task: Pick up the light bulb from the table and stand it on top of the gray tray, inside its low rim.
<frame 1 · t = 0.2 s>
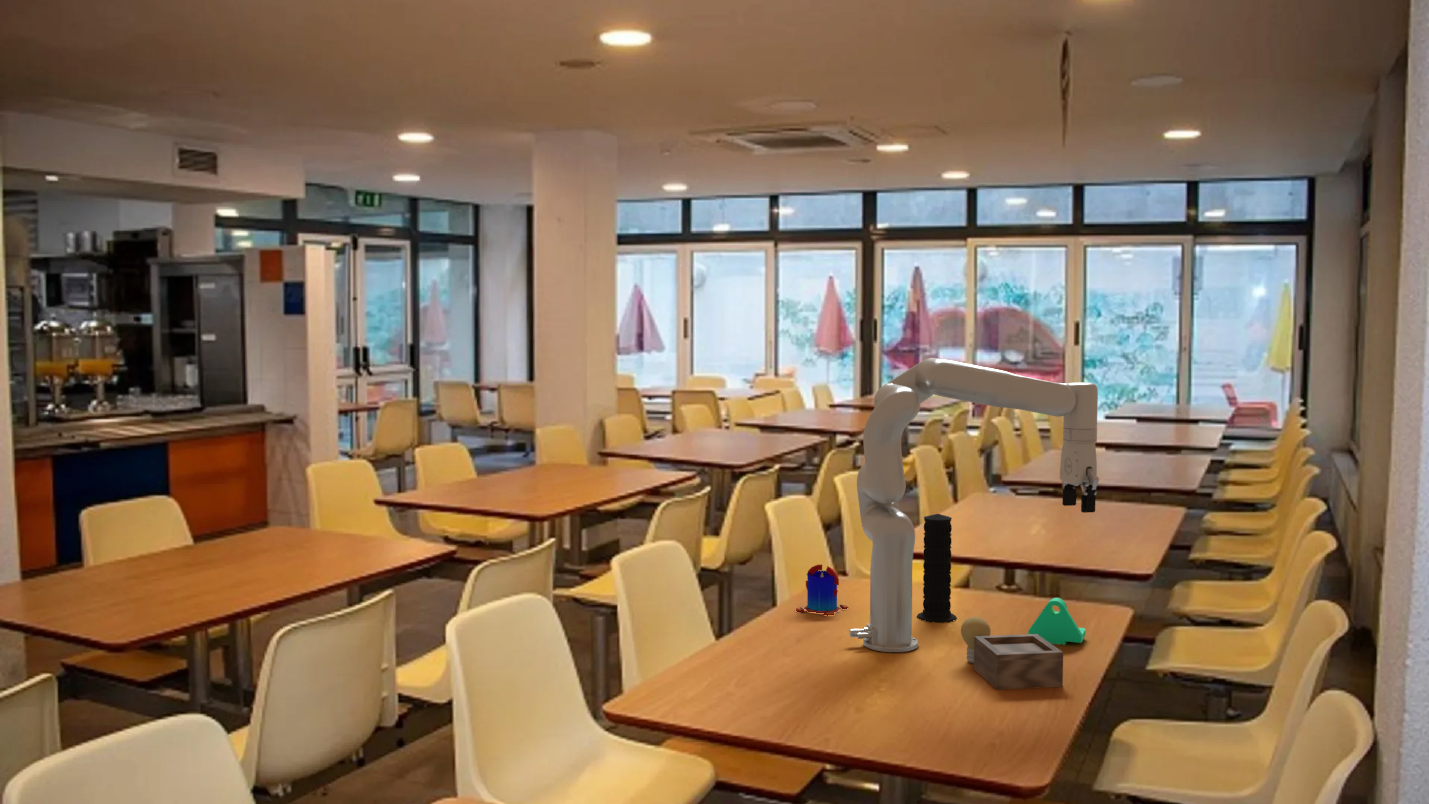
hand: (1078, 508, 278), 31 cm above the table, tool pointing down, fingers open, 9 cm apart
camera mount: (1057, 641, 280), on the table
handle grip: (936, 618, 300), on the table
light bulb: (975, 663, 262), on the table
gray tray: (1017, 677, 251), on the table
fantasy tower: (822, 611, 309), on the table
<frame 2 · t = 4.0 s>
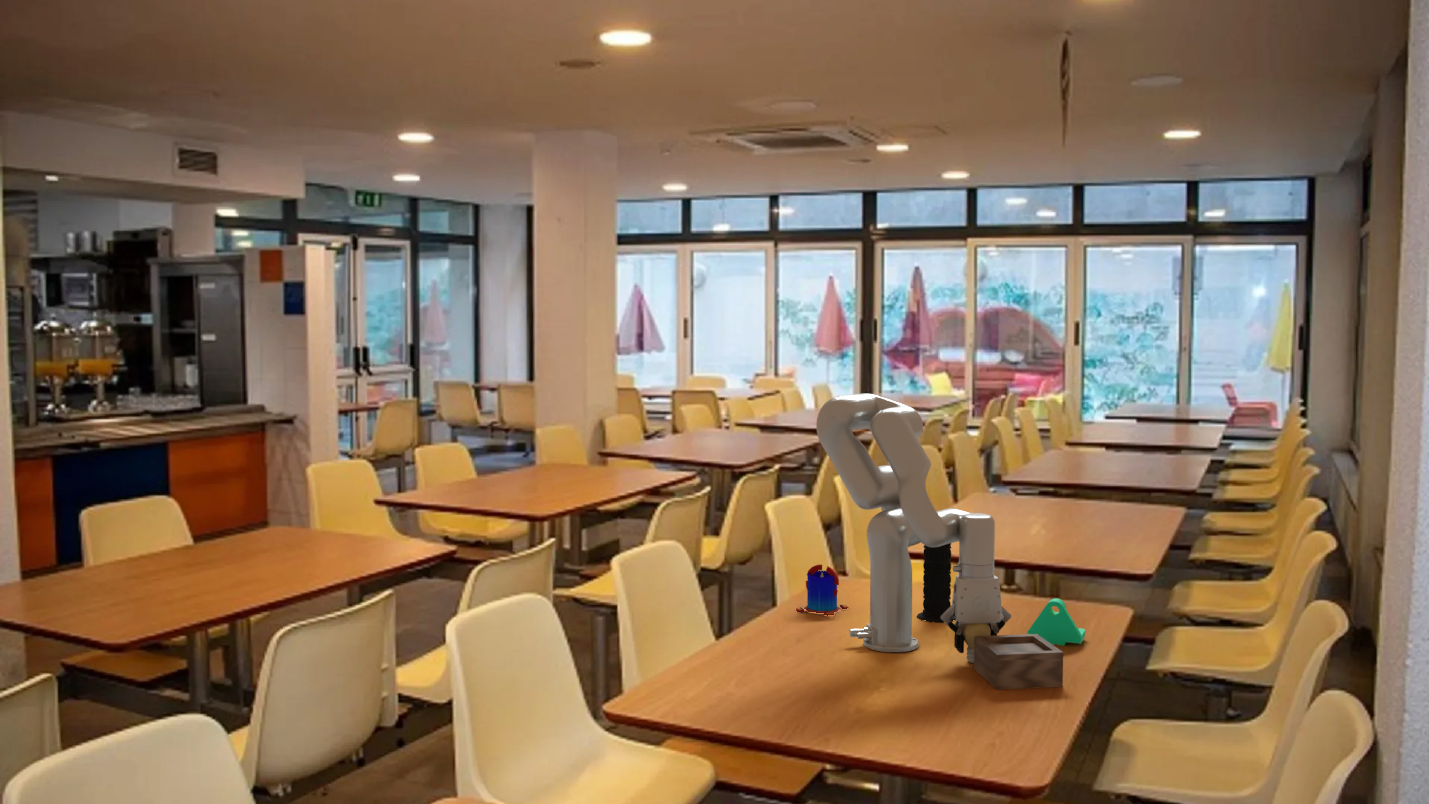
hand: (975, 650, 262), 3 cm above the table, tool pointing down, fingers closed on light bulb, 6 cm apart
light bulb: (975, 662, 262), on the table, touching gripper
when the fingers open (10 cm above the table, at t = 9.5 s): light bulb drops 1 cm, resting on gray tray.
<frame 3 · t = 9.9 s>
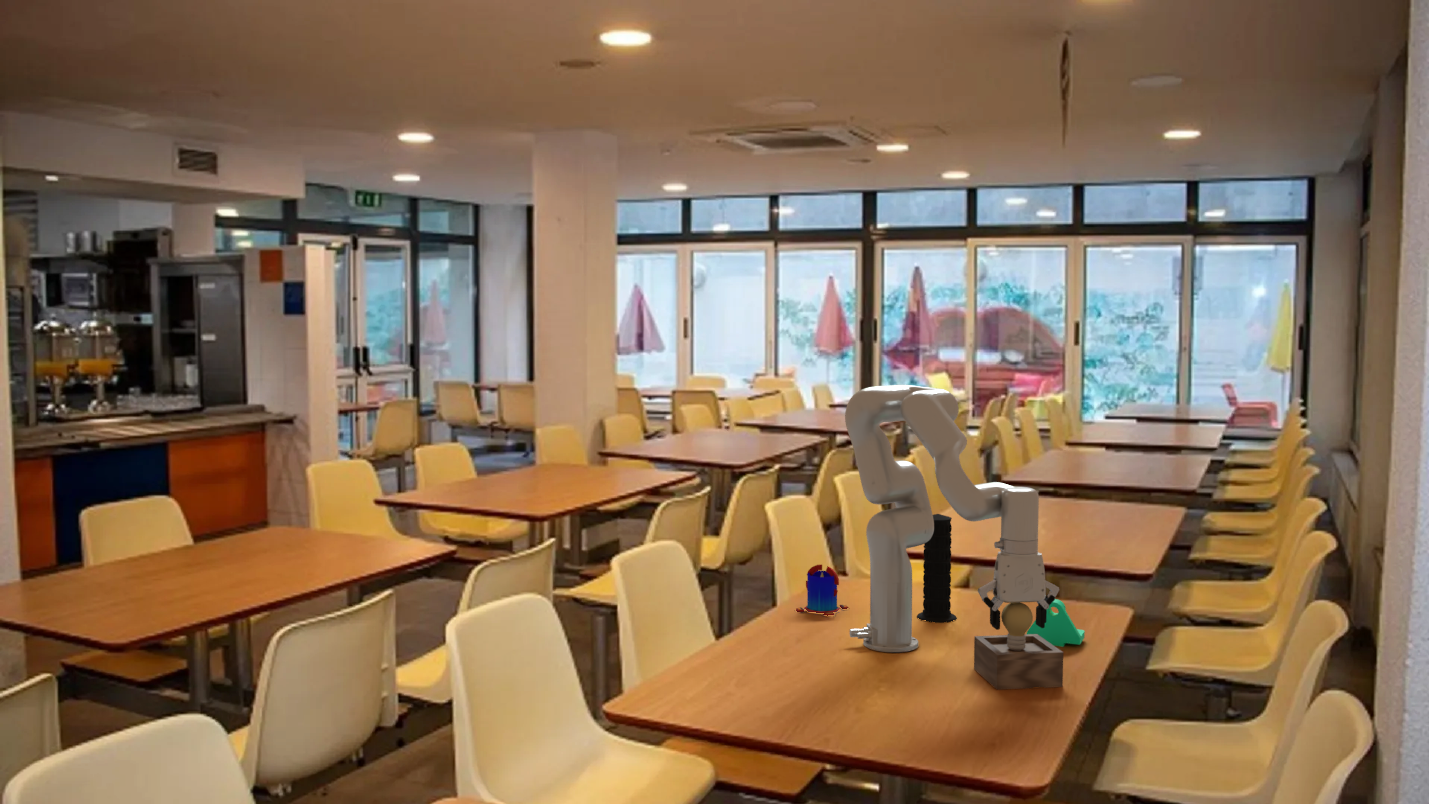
hand: (1018, 627, 250), 11 cm above the table, tool pointing down, fingers open, 9 cm apart
light bulb: (1016, 650, 251), point 6 cm above the table, touching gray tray
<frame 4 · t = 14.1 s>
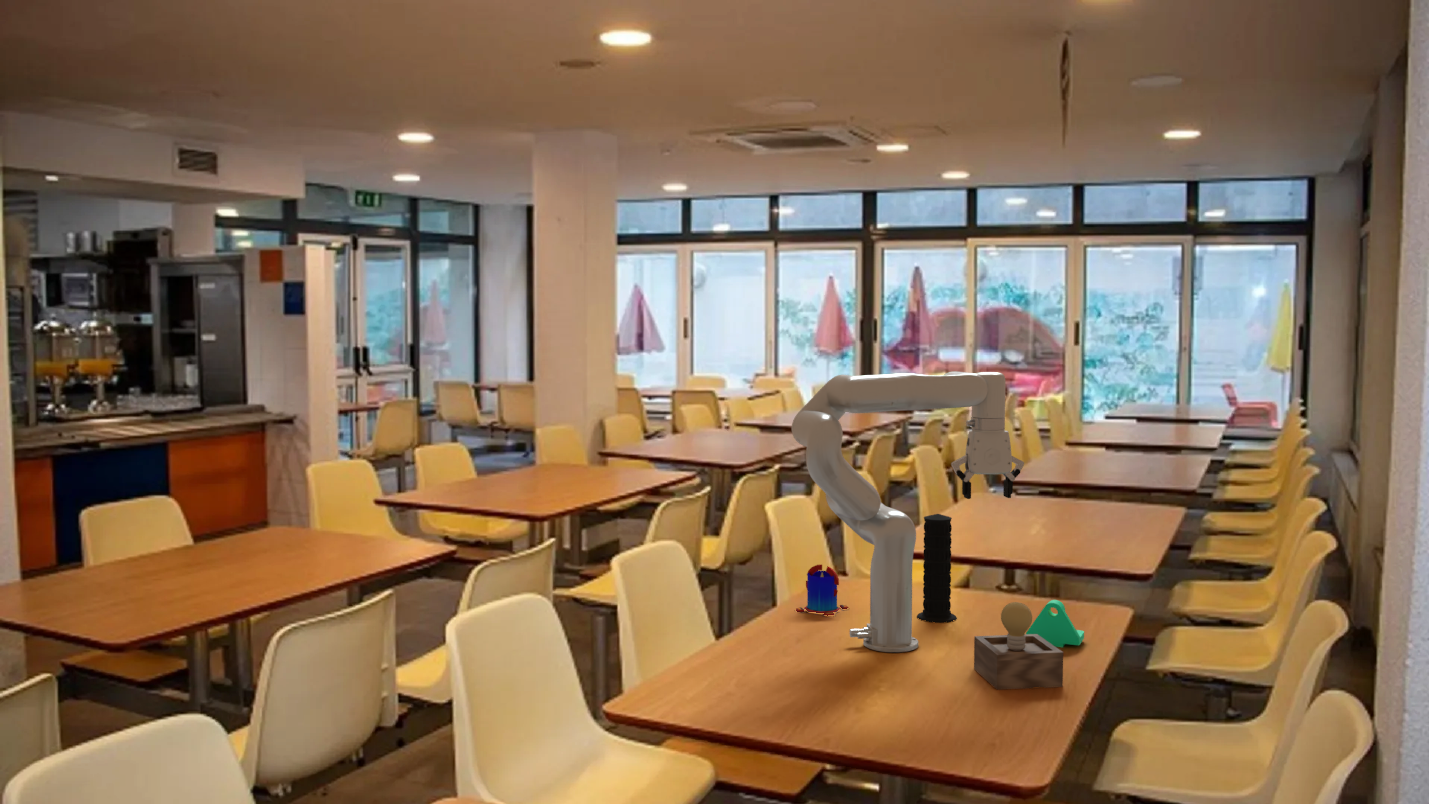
hand: (987, 497, 280), 33 cm above the table, tool pointing down, fingers open, 9 cm apart
at the end: light bulb inside the target area on the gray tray (0.4 cm from its centre), point 5.8 cm above the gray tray's base; light bulb tilted 0°; the gripper is holding nothing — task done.
